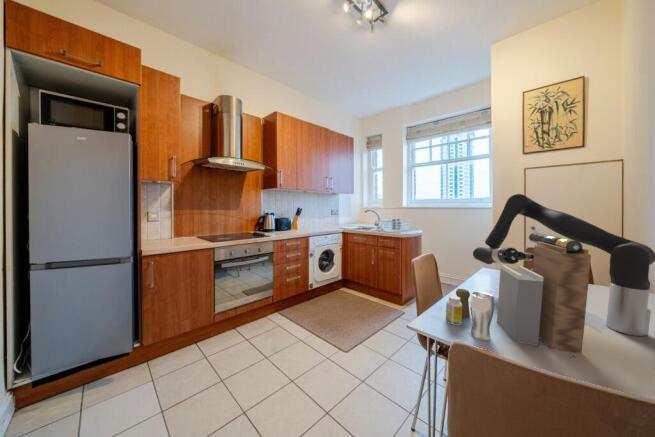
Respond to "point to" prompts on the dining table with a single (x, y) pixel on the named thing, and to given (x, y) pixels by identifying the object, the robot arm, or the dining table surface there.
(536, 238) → the black gold-banded rod
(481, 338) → the beer glass
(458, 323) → the supplement bottle
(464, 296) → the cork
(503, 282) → the grey magazine holder
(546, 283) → the tall stand
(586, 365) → the dining table surface
